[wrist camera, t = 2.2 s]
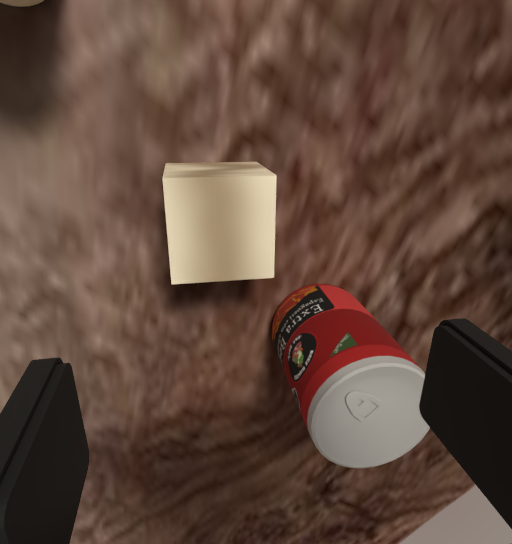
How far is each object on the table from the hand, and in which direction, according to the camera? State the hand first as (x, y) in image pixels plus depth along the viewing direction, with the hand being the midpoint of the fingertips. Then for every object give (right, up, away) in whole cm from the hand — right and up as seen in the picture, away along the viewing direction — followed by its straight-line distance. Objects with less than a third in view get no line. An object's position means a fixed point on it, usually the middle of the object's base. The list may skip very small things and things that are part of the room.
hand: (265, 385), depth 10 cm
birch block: (-3, +7, +17) cm, 19 cm away
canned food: (+5, -1, +23) cm, 23 cm away
